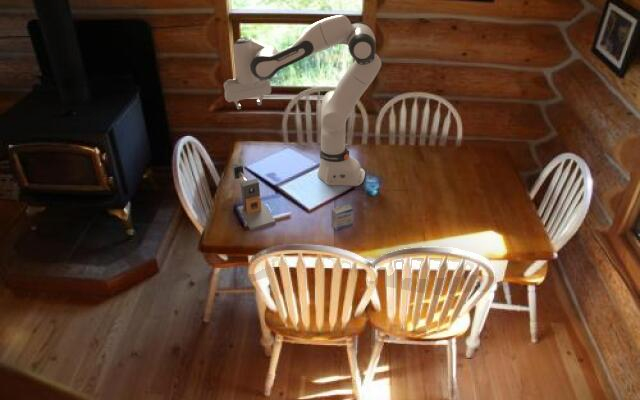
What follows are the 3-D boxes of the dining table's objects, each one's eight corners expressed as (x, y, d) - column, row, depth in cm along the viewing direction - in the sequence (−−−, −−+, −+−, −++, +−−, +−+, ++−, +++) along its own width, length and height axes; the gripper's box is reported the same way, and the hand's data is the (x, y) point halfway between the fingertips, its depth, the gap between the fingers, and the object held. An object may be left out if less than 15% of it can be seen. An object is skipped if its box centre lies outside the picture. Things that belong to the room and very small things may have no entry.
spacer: (246, 211, 222) (245, 199, 218) (259, 207, 224) (258, 195, 221) (248, 214, 221) (247, 201, 217) (261, 210, 223) (260, 197, 219)
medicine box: (336, 230, 214) (336, 214, 209) (330, 224, 218) (331, 208, 212) (352, 225, 217) (353, 208, 212) (347, 219, 221) (348, 202, 215)
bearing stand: (237, 209, 226) (234, 182, 217) (261, 202, 230) (259, 175, 221) (250, 231, 214) (247, 202, 205) (275, 223, 218) (273, 195, 209)
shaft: (233, 175, 232) (231, 164, 229) (241, 173, 234) (240, 162, 230) (245, 195, 221) (244, 183, 217) (254, 192, 222) (253, 181, 218)
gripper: (225, 83, 213) (228, 114, 221) (271, 74, 220) (273, 104, 229) (220, 78, 218) (224, 108, 226) (266, 69, 225) (268, 99, 233)
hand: (249, 106), depth 227 cm, fingers open, 8 cm apart
